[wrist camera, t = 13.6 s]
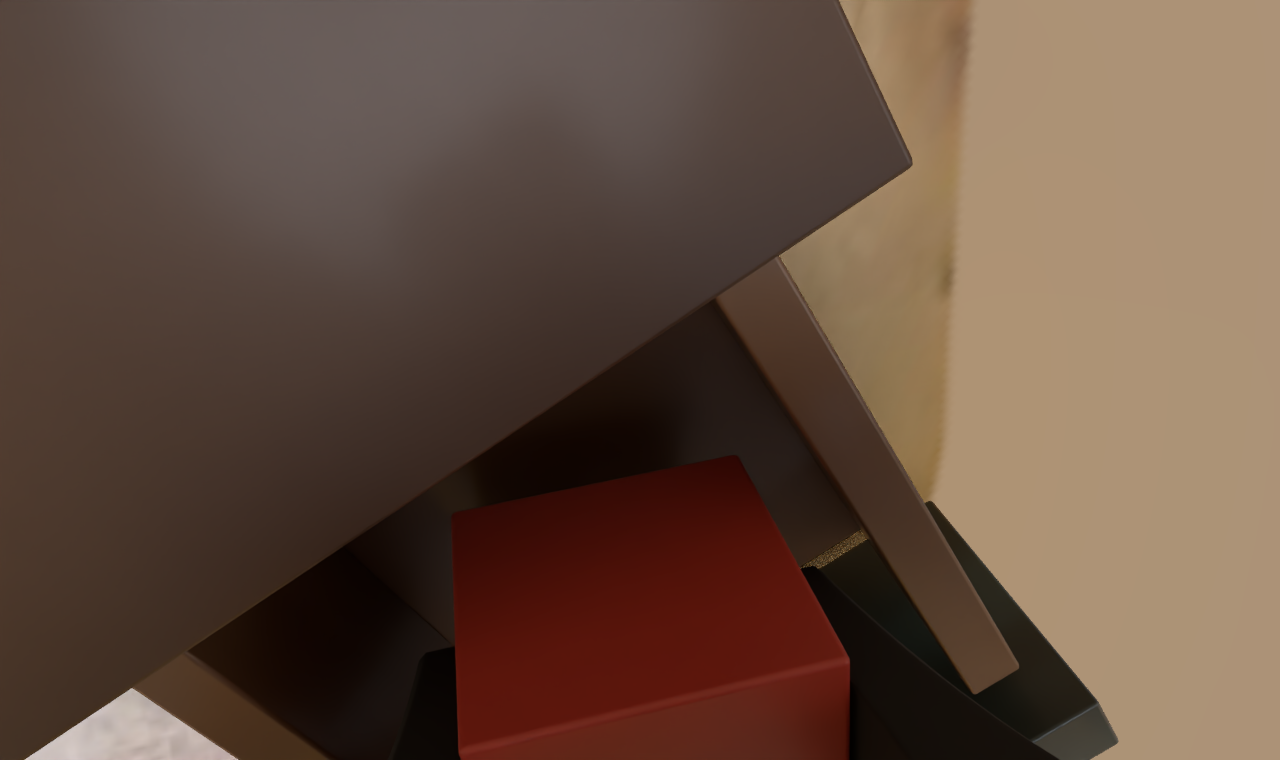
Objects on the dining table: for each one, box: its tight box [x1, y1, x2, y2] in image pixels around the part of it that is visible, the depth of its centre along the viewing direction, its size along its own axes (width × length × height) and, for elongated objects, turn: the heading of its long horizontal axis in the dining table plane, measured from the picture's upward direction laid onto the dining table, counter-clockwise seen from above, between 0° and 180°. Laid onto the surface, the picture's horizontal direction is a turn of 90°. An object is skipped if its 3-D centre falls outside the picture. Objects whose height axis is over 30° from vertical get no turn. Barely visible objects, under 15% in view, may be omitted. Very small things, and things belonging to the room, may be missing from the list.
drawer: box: [132, 256, 1118, 760], centre depth 15 cm, size 17×10×5 cm, turn 32°
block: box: [451, 455, 850, 760], centre depth 12 cm, size 4×4×4 cm
